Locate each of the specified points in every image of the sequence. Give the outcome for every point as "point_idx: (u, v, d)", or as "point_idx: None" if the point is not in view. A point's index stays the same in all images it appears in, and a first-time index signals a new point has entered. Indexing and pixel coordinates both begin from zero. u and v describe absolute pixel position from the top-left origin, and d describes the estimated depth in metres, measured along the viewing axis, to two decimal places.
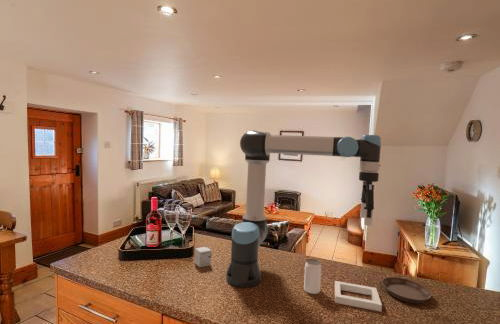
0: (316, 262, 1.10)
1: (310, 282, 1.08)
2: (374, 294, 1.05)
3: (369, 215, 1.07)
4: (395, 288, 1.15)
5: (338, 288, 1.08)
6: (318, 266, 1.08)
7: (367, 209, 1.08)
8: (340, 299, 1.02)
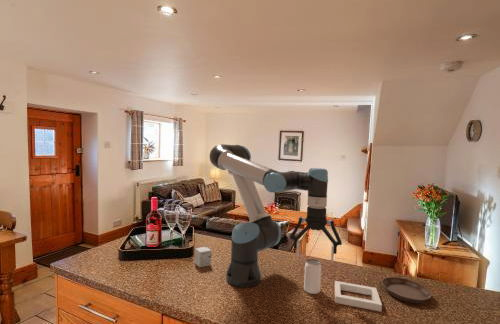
0: (316, 262, 1.10)
1: (310, 282, 1.08)
2: (374, 294, 1.05)
3: (294, 245, 1.12)
4: (395, 288, 1.15)
5: (338, 288, 1.08)
6: (318, 266, 1.08)
7: None
8: (340, 299, 1.02)
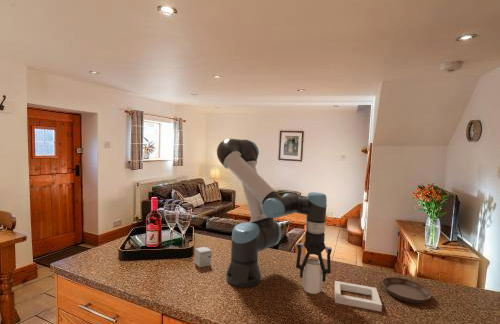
0: (316, 262, 1.10)
1: (310, 282, 1.08)
2: (374, 294, 1.05)
3: (300, 274, 1.12)
4: (395, 288, 1.15)
5: (338, 288, 1.08)
6: (318, 266, 1.08)
7: None
8: (340, 299, 1.02)
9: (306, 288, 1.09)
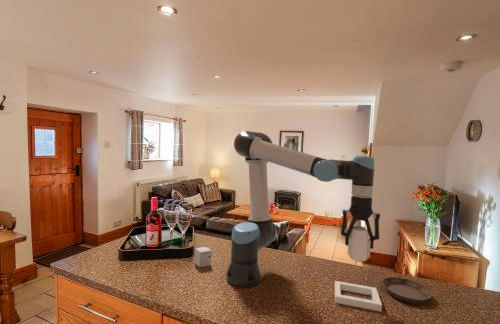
0: (363, 228, 1.05)
1: (358, 249, 1.02)
2: (374, 294, 1.05)
3: (345, 242, 1.07)
4: (395, 288, 1.15)
5: (338, 288, 1.08)
6: (366, 232, 1.03)
7: None
8: (340, 299, 1.02)
9: (353, 255, 1.04)
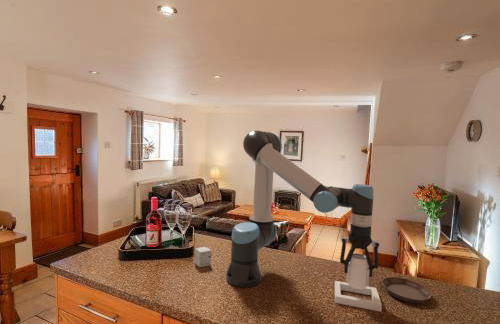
0: (362, 257, 1.06)
1: (357, 277, 1.03)
2: (374, 294, 1.05)
3: (344, 269, 1.07)
4: (395, 288, 1.15)
5: (338, 288, 1.08)
6: (365, 261, 1.03)
7: None
8: (340, 299, 1.02)
9: (352, 284, 1.04)
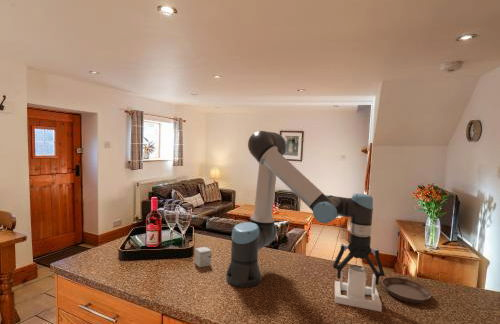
0: (360, 268, 1.06)
1: (355, 290, 1.03)
2: (374, 294, 1.05)
3: (337, 275, 1.08)
4: (395, 288, 1.15)
5: (338, 288, 1.08)
6: (363, 273, 1.03)
7: None
8: (340, 299, 1.02)
9: None
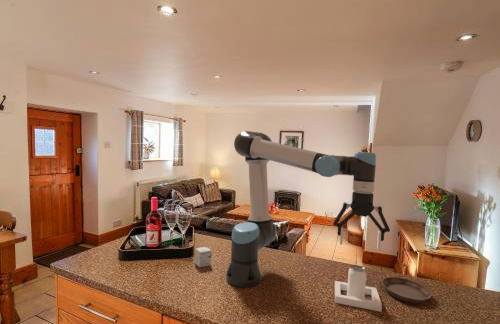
0: (360, 268, 1.06)
1: (355, 290, 1.03)
2: (374, 294, 1.05)
3: (337, 232, 1.08)
4: (395, 288, 1.15)
5: (338, 288, 1.08)
6: (363, 273, 1.03)
7: None
8: (340, 299, 1.02)
9: None
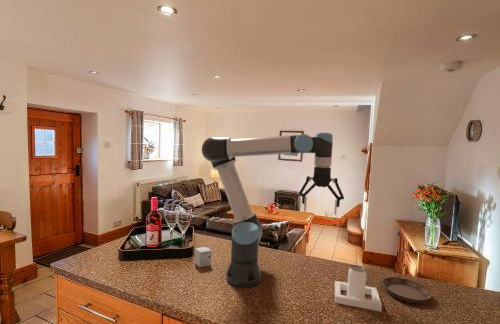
0: (360, 268, 1.06)
1: (355, 290, 1.03)
2: (374, 294, 1.05)
3: (302, 201, 1.27)
4: (395, 288, 1.15)
5: (338, 288, 1.08)
6: (363, 273, 1.03)
7: None
8: (340, 299, 1.02)
9: None
